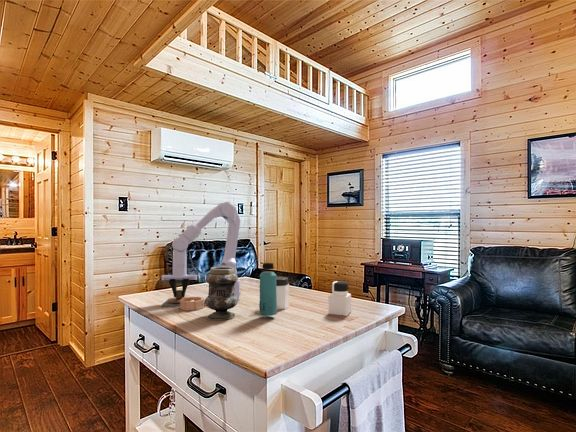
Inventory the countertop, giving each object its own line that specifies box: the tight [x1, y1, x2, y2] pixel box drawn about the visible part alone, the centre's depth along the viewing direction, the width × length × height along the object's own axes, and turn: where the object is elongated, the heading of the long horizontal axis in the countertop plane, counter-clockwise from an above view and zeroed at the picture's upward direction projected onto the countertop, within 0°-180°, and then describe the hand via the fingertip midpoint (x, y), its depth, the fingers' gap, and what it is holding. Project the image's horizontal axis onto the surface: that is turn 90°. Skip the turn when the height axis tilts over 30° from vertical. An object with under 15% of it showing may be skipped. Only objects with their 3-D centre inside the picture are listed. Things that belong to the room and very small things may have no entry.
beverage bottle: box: [258, 262, 278, 317], centre depth 121 cm, size 6×7×20 cm
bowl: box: [179, 296, 205, 312], centre depth 134 cm, size 9×9×4 cm
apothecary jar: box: [204, 266, 239, 321], centre depth 122 cm, size 12×12×18 cm
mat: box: [160, 300, 180, 308], centre depth 142 cm, size 12×12×1 cm
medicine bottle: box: [328, 280, 352, 317], centre depth 127 cm, size 7×7×12 cm
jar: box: [276, 275, 290, 310], centre depth 136 cm, size 9×8×12 cm
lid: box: [166, 289, 188, 303], centre depth 142 cm, size 10×10×4 cm
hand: (179, 296), depth 142 cm, fingers closed on lid, 3 cm apart
